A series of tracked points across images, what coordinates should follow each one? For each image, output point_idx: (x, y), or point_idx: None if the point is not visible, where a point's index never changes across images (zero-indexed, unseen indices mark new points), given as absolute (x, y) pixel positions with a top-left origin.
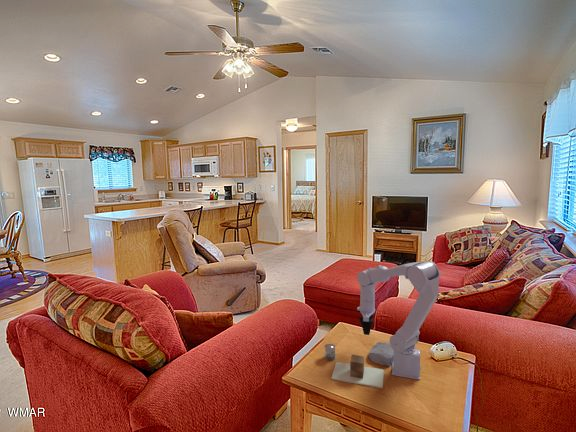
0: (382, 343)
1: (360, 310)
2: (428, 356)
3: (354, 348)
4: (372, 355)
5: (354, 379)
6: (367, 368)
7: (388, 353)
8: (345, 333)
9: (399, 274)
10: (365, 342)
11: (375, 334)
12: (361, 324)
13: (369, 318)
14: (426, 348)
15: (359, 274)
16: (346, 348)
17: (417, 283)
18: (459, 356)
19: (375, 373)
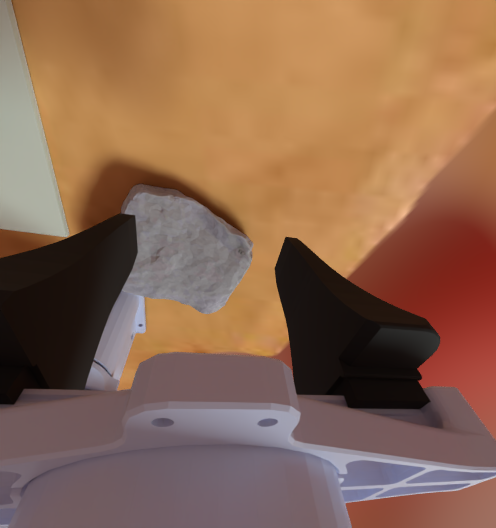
0: (233, 263)
1: (74, 434)
2: (210, 352)
3: (231, 100)
4: (124, 206)
5: None
6: (33, 164)
7: (127, 283)
8: (424, 39)
9: None
10: (295, 175)
11: (360, 230)
12: (5, 258)
13: (294, 306)
14: (251, 353)
15: None
16: (225, 31)
17: None
18: None
19: (13, 200)
